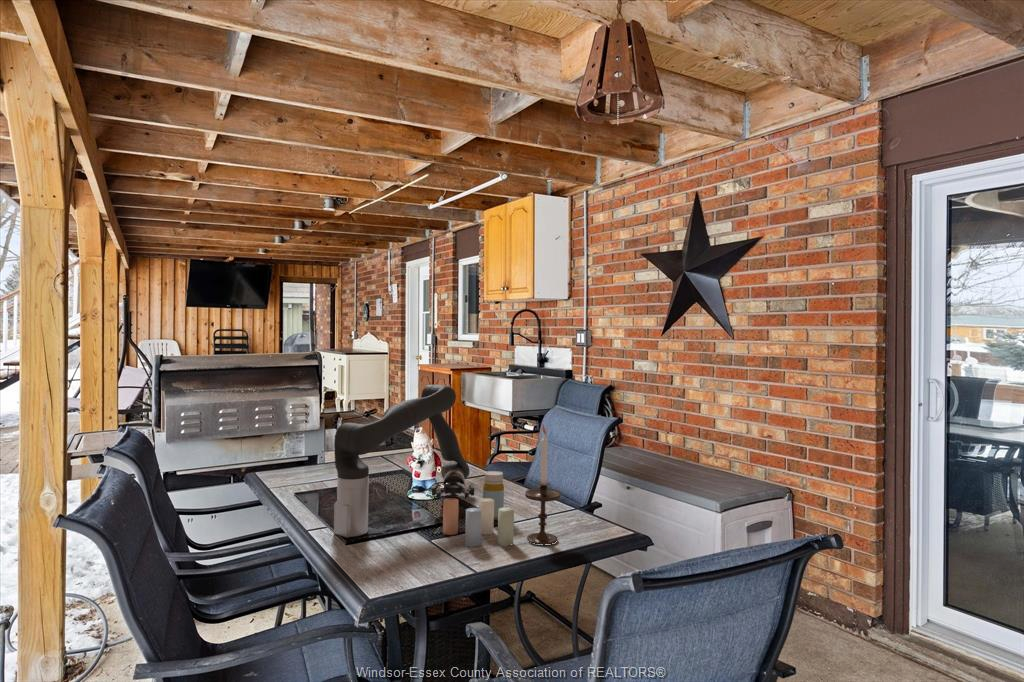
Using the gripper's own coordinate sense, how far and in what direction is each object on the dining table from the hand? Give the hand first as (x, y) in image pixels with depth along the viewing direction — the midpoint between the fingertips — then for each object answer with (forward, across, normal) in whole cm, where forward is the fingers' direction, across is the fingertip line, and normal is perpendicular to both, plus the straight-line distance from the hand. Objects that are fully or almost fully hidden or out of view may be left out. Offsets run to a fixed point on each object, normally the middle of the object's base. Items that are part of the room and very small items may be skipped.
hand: (452, 495), depth 201 cm
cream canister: (+12, +11, +8) cm, 18 cm away
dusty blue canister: (+22, +7, +8) cm, 24 cm away
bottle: (-3, +13, +9) cm, 16 cm away
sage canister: (+22, +16, +8) cm, 28 cm away
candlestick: (+19, +27, +8) cm, 34 cm away
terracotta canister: (+12, 0, +8) cm, 14 cm away
